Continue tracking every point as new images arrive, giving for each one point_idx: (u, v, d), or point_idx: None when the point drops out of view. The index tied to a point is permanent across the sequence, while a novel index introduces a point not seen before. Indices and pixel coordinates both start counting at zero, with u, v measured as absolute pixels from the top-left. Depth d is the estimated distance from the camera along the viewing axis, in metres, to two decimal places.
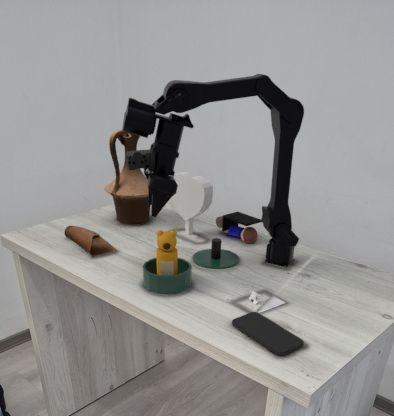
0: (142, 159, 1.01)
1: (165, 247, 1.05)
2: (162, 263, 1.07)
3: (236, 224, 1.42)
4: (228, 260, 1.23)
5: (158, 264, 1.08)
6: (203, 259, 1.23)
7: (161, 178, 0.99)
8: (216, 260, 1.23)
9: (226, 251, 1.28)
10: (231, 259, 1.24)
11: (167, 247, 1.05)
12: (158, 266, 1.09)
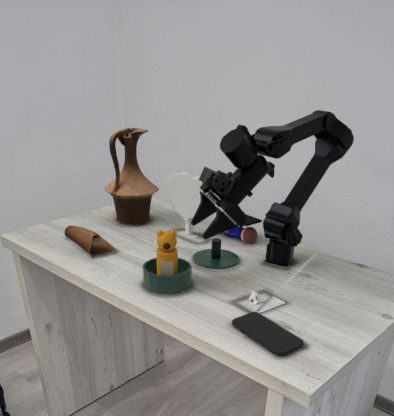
0: (225, 182, 0.99)
1: (165, 247, 1.05)
2: (162, 263, 1.07)
3: None
4: (228, 260, 1.23)
5: (158, 264, 1.08)
6: (203, 259, 1.23)
7: (238, 208, 0.98)
8: (216, 260, 1.23)
9: (226, 251, 1.28)
10: (231, 259, 1.24)
11: (167, 247, 1.05)
12: (158, 266, 1.09)
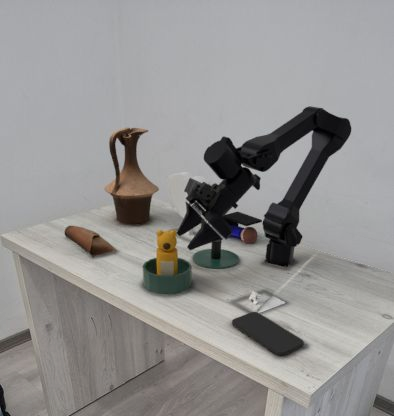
0: (209, 193, 0.99)
1: (165, 247, 1.05)
2: (162, 263, 1.07)
3: (236, 224, 1.42)
4: (228, 260, 1.23)
5: (158, 264, 1.08)
6: (203, 259, 1.23)
7: (223, 220, 0.98)
8: (216, 260, 1.23)
9: (226, 251, 1.28)
10: (231, 259, 1.24)
11: (167, 247, 1.05)
12: (158, 266, 1.09)
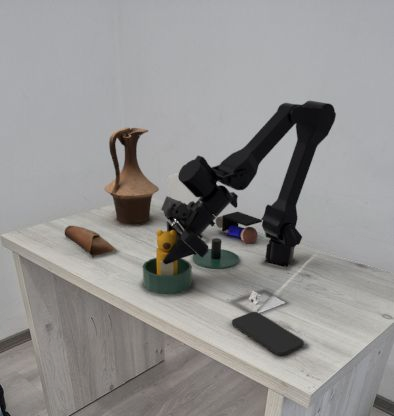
0: (185, 212, 1.00)
1: (165, 247, 1.05)
2: (162, 263, 1.07)
3: (236, 224, 1.42)
4: (228, 260, 1.23)
5: (158, 264, 1.08)
6: (203, 259, 1.23)
7: (199, 239, 0.99)
8: (216, 260, 1.23)
9: (226, 251, 1.28)
10: (231, 259, 1.24)
11: (167, 247, 1.05)
12: (158, 266, 1.09)
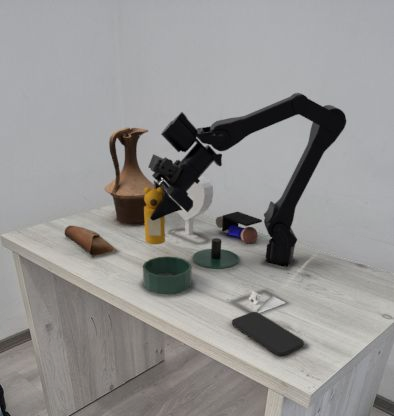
0: (171, 168, 1.05)
1: (152, 203, 1.10)
2: (149, 220, 1.12)
3: (236, 224, 1.42)
4: (228, 260, 1.23)
5: (146, 221, 1.13)
6: (203, 259, 1.23)
7: (184, 193, 1.04)
8: (216, 260, 1.23)
9: (226, 251, 1.28)
10: (231, 259, 1.24)
11: (154, 203, 1.10)
12: (146, 223, 1.14)
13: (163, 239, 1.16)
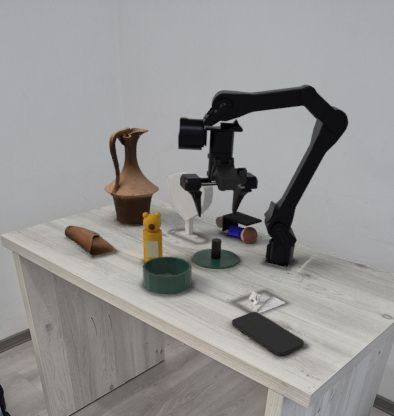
0: None
1: (150, 228, 1.16)
2: (148, 243, 1.19)
3: (236, 224, 1.42)
4: (228, 260, 1.23)
5: (144, 243, 1.20)
6: (203, 259, 1.23)
7: (254, 176, 1.14)
8: (216, 260, 1.23)
9: (226, 251, 1.28)
10: (231, 259, 1.24)
11: (152, 228, 1.16)
12: (144, 245, 1.20)
13: None
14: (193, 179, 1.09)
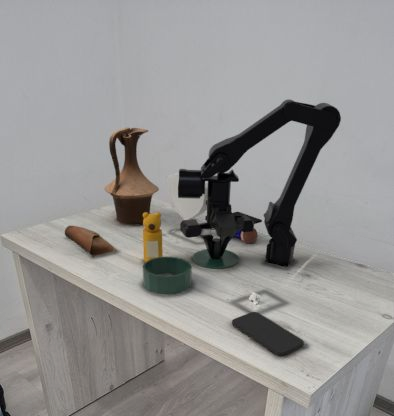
0: None
1: (150, 228, 1.16)
2: (148, 243, 1.19)
3: None
4: (228, 260, 1.23)
5: (144, 243, 1.20)
6: (203, 259, 1.23)
7: (250, 219, 1.21)
8: (216, 260, 1.23)
9: (226, 251, 1.28)
10: (231, 259, 1.24)
11: (152, 228, 1.16)
12: (144, 245, 1.20)
13: None
14: (193, 226, 1.15)
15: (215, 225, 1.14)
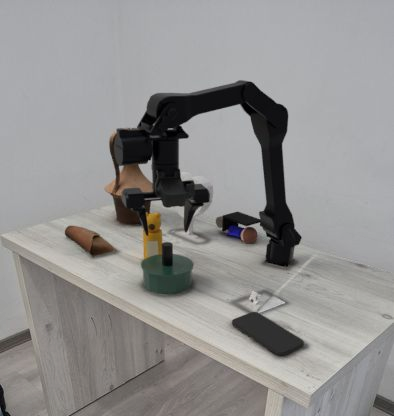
0: None
1: (150, 228, 1.16)
2: (148, 243, 1.19)
3: (236, 224, 1.42)
4: (181, 267, 1.09)
5: (144, 243, 1.20)
6: (152, 266, 1.09)
7: (206, 188, 1.02)
8: (167, 267, 1.08)
9: (181, 256, 1.14)
10: (185, 266, 1.09)
11: (152, 228, 1.16)
12: (144, 245, 1.20)
13: None
14: (135, 195, 0.96)
15: (160, 193, 0.95)
